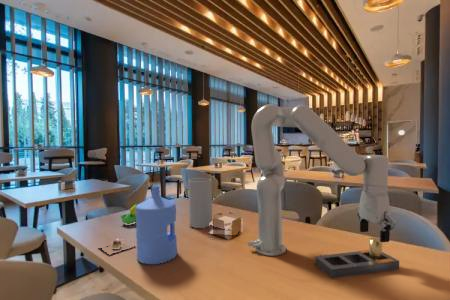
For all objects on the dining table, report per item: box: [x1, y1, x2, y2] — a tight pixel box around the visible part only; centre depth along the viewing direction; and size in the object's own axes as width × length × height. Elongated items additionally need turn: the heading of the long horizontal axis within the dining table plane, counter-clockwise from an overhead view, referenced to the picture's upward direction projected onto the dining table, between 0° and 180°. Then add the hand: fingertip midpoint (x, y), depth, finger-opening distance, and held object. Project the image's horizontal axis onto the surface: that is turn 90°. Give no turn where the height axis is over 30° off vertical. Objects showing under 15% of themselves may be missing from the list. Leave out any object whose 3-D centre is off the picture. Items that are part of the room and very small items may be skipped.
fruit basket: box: [120, 203, 139, 224], centre depth 146 cm, size 11×9×11 cm
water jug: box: [135, 185, 178, 265], centre depth 103 cm, size 16×16×28 cm
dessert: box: [111, 238, 123, 248], centre depth 113 cm, size 12×12×5 cm
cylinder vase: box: [187, 177, 213, 229], centre depth 140 cm, size 12×12×25 cm
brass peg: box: [368, 237, 383, 261], centre depth 93 cm, size 4×4×9 cm
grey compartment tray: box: [314, 249, 400, 280], centre depth 92 cm, size 26×10×3 cm, turn 101°
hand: (373, 236), depth 93 cm, fingers open, 9 cm apart
